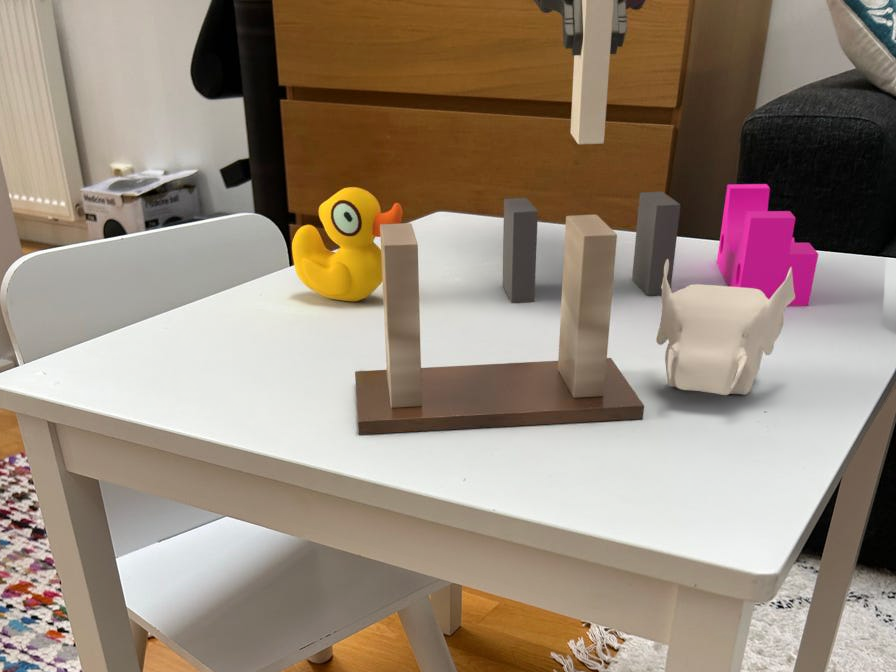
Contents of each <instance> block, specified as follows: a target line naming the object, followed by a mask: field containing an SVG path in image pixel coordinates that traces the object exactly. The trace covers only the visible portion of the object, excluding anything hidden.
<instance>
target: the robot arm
mask: <svg viewBox="0 0 896 672" xmlns="http://www.w3.org/2000/svg"><path fill="white" fill-rule="evenodd" d="M533 1H534V2H535V4H536V5H537V6H536V7H538V9H539V10H540V12H542V13H544V14H549V13H551V12H553V11H555V12H557V13H559V14H560V15H561V18H562V19H561V20H562V21H561V22H562V44H563V46H564V48H565V49H567V50H568V49H570V50H571V56H572V57H574V56H577V55H581V50H582V44H583V13H582V0H533ZM646 1H647V0H614V4H613V19H612V33H611V48H610V55H617V52H618V48H622V47H623V45H624V43H625V39H626V34H627V30H628V19H627V10H628V9H631V10H633V11H639V10H641V9H642V8H643V6H644V5H645V3H646Z"/></svg>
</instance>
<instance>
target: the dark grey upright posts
mask: <svg viewBox="0 0 896 672" xmlns="http://www.w3.org/2000/svg"><path fill="white" fill-rule="evenodd" d="M638 198H639V199H638V208H637V209H638V210H637V219H636V220H637V221H636V222H637V223H636V230H635V243H634V253H633V264H632V275H631V280H633V282H634V283H635V284H636V285H637V286H638V287H639V288H640V289H641V290H642V291H643V292H644V294H646V295H647V296H650V297H651V296H662V288H661V286H662V283H663V277H664V265H665V262H666V260H667V259H668V260H669V270H668V274H667V281H668V284H669V286H670V289H671V290H672V281H673V273H674V264H675V257H676V247H677V238H678V231H679V222H680V214H681V204H680V203H679V202H678V201H676V200H675V199H673V198H672V197H671V196H669V195H668V194H667V193H665V192H664V191H648V192H647V191H645V192H643V191H642V192H640V193H639V197H638ZM538 218H539V211H538V210H537V208H536V207H535V206H534V204H533V203H532V202H531V201H530V200H529V198H528V197H512V198H511V197H510V198H504V199H503V230H502V231H503V235H502V236H503V238H502V282H501V283H502V284H501V285H502V288H503V289H504V290H505V293H506V295H507V296H508V298H509V301H510V303H512V304H513V303H530V302H535V297H536V296H535V295H536V271H537V270H536V269H537V244H538V242H537V241H538V221H539V219H538Z"/></svg>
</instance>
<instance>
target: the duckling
mask: <svg viewBox="0 0 896 672" xmlns="http://www.w3.org/2000/svg"><path fill="white" fill-rule="evenodd" d="M403 215H404V212H403V208H402V205H401V204H400V203H399V202H395V203H394V204H393V206H392V207H391V209H390V210H388V211H385V212H382V211H381V205H380V203H379V200H378V199H377V198H376V196H374V194H372V193H371V192H370V191H368V190H366V189H364V188H360V187H357V186H351V187H344V188H342V189H340V190H338V191H337V192H336V193H334V194H333V195H332V196H330V197H329V198H328V199H327V200H325V201H323V202H322V203H321V204H320V205H319V207H318V218H319V220H320V222H321V223H322V226H323V228H324V231H325V232H326V234H327V236H328V237H329V239H330V240H331V241H332V242H334V243H335V244H336V245H337V246H338V247H339V248H338V249H337V250H336V251H332V250H329V249H327V247H326V246H325V244H324V241H323V239H322V237H321V234H320V232H319V230H318V229H317V228H316V227H315V226H314V225H313V224H306V225H302V226H301V227H299V228H298V230H297V231H296V232H295V234H294V237H293V239H292V242H291V253H292V260H293V265H294V268H295V272H296V275H297V277H298V279H299V280H300V281H301V282H302V283H303V285H304V286H305V287H307V288H308V289H310V290H312V291H313V292H315V293H316V294H318V295H320V296H323V297H324V298H328V299H331V300H338V301H346V302H358V301H361V300H364V299H366V298H368V297H369V296H370V295H371V294H373V293H374V291H376V289H378V288H379V286H381V284H383V280H382V258H381V247H380V246H379V245H378V244H377V243H375V242H374V241H375V239H376V238H381V237H380V225H381V224H402V221H403V220H402V219H403Z"/></svg>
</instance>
